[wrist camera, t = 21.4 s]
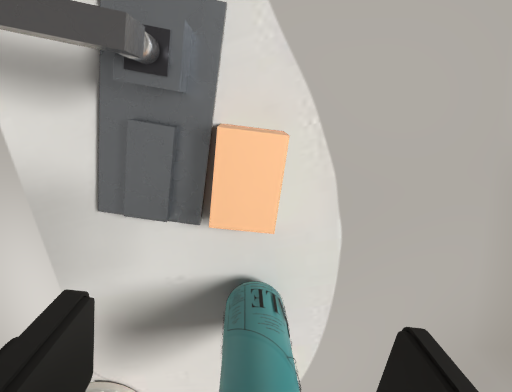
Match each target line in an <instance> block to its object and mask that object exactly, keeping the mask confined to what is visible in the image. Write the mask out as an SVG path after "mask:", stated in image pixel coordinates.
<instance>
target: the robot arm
mask: <svg viewBox="0 0 512 392" xmlns="http://www.w3.org/2000/svg"><path fill="white" fill-rule="evenodd" d="M93 352H94V298H90V297H89V294H88V292H85V291H76V290H64V291H63V292H62V293H61V294H60V295H59V296H58V297H57V298H56V299H55V300H54V301H53V302H52V303H51V304H50V305H49V306H48V307H47V308H46V309H45V310H44V311H43V313H41V314H40V316H38V317H37V318H36V319H35V320H34V321H33V323H32V324H31V325H30V326H29V327H28V328H27V329H26V330H25V331H24V332H23V333H22V334H21V335H20V336H19V337H16V338H13V339H12V340H10V341H9V342H8V343H7V344H5V346H3V348H1V350H0V392H136V391H134V390H132V389H130V388H128V387H126V386H123V385H120V384H116V383H110V382H91V383H90V381H91V378H92V374H93ZM376 392H478V391H477V389H476V388H475V387H474V386H473V385H472V383H471V382H470V381H469V380H468V379H467V377H465V375H464V374H463V373H462V372H461V370H460V369H459V368H458V367H457V366H456V364H455V363H454V362H453V361H452V360H451V358H450V357H449V356H448V355H447V354H446V353H445V351H444V350H443V349H442V348H441V347H440V345H439V344H438V343H437V342H436V341H435V340H434V338H433V337H432V336H431V335H430V334H429V333H428V331H426V330H425V329H421V328H412V327H405V328H403V330H402V331H400V332H398V334H397V336H396V339H395V342H394V345H393V347H392V350H391V353H390V356H389V358H388V361H387V364H386V367H385V370H384V372H383V375H382V378H381V380H380V383H379V386H378V389H377V391H376Z"/></svg>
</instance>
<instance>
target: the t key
mask: <svg viewBox="0 0 512 392" xmlns="http://www.w3.org/2000/svg"><path fill="white" fill-rule="evenodd" d="M0 29H1V30H6V31H11V32H16V33H21V34H25V35H30V36H35V37H40V38H45V39H50V40H55V41H60V42H65V43H69V44H74V45H79V46H84V47H89V48H94V49H99V50H104V51H109V52H113V53H118V54H120V55H122V56H125V57H127V58H130V59H133V60H135V61H138V62H141V63H143V64H151V63H153V62H155V61H156V60H157V59H158V57H159V53H160V48H159V44H158V42H157V41H156V39H155V38H154V37H152V36H151V35H150V34H148V33H147V32H145V26H144V25H142V24H141V23H140V22H138V21H137V20H136V19H134V18H133V17H132V16H130V15H129V14H128V13H126V12H122V11H118V10H113V9H109V8H104V7H100V6H95V5H90V4H86V3H81V2H77V1H72V0H0Z"/></svg>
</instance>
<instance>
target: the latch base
mask: <svg viewBox="0 0 512 392" xmlns="http://www.w3.org/2000/svg"><path fill="white" fill-rule="evenodd" d="M100 7H104V8H109V9H113V10H118V11H122V12H126V13H128V14H129V15H130V16H132V17H133V18H134V19H136V20H137V21H138V22H140V23H141V24H142V25H144V26H145V32H147V33H148V34H150V35H151V36H152V37H154V38H155V39H156V41H157V42H158V44H159V48H160V53H159V57H158V59H157V60H156V61H155V62H153V63H151V64H143V63H141V62H138V61H135V60H133V59H130V58H127V57H125V56H122V55H120V54H118V53H113V52H109V51H104V50H100V90H99V196H98V211H101V212H108V213H115V214H122V215H124V216H127V217H134V218H141V219H149V220H156V221H163V222H167V221H172V222H180V223H187V224H194V225H200V222H201V214H202V206H203V198H204V190H205V181H206V173H207V165H208V157H209V149H210V141H211V132H212V124H213V116H214V108H215V100H216V92H217V83H218V75H219V67H220V59H221V51H222V42H223V34H224V26H225V18H226V10H227V2H222V1H217V0H100Z"/></svg>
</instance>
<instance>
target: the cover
mask: <svg viewBox="0 0 512 392" xmlns="http://www.w3.org/2000/svg"><path fill="white" fill-rule="evenodd" d="M288 143H289V135H288V134H287V133H285V132H284V131H276V130H269V129H261V128H253V127H245V126H237V125H229V124H220V125H219V126H218V127H217V137H216V149H215V161H214V173H213V185H212V197H211V209H210V221H209V227H210V228H220V229H230V230H240V231H250V232H260V233H270V234H274V231H275V225H276V219H277V212H278V206H279V200H280V193H281V187H282V181H283V174H284V168H285V162H286V155H287V149H288Z"/></svg>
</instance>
